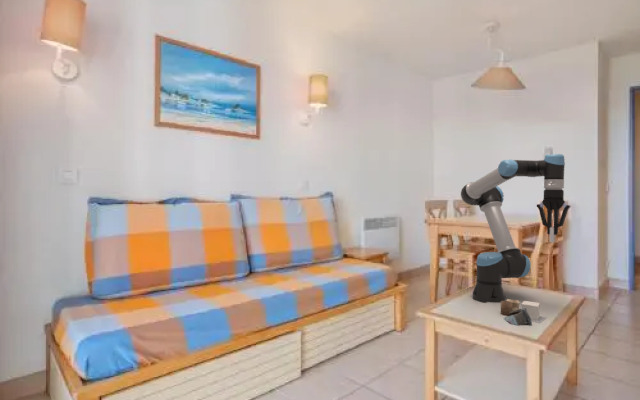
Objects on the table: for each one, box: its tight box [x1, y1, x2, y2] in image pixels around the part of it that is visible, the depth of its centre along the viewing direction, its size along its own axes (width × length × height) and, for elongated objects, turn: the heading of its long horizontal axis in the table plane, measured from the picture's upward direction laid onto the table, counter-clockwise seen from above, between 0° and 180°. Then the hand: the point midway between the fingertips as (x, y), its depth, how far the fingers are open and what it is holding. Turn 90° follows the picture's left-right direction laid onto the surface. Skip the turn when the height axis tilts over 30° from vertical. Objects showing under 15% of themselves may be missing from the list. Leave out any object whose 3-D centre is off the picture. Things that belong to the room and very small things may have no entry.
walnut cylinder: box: [500, 300, 512, 317], centre depth 163 cm, size 4×4×6 cm
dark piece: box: [503, 308, 533, 327], centre depth 154 cm, size 10×7×12 cm
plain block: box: [521, 300, 541, 321], centre depth 159 cm, size 6×6×6 cm
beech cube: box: [506, 298, 520, 311], centre depth 168 cm, size 5×5×5 cm
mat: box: [531, 315, 547, 324], centre depth 159 cm, size 10×10×1 cm
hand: (552, 241), depth 165 cm, fingers closed
